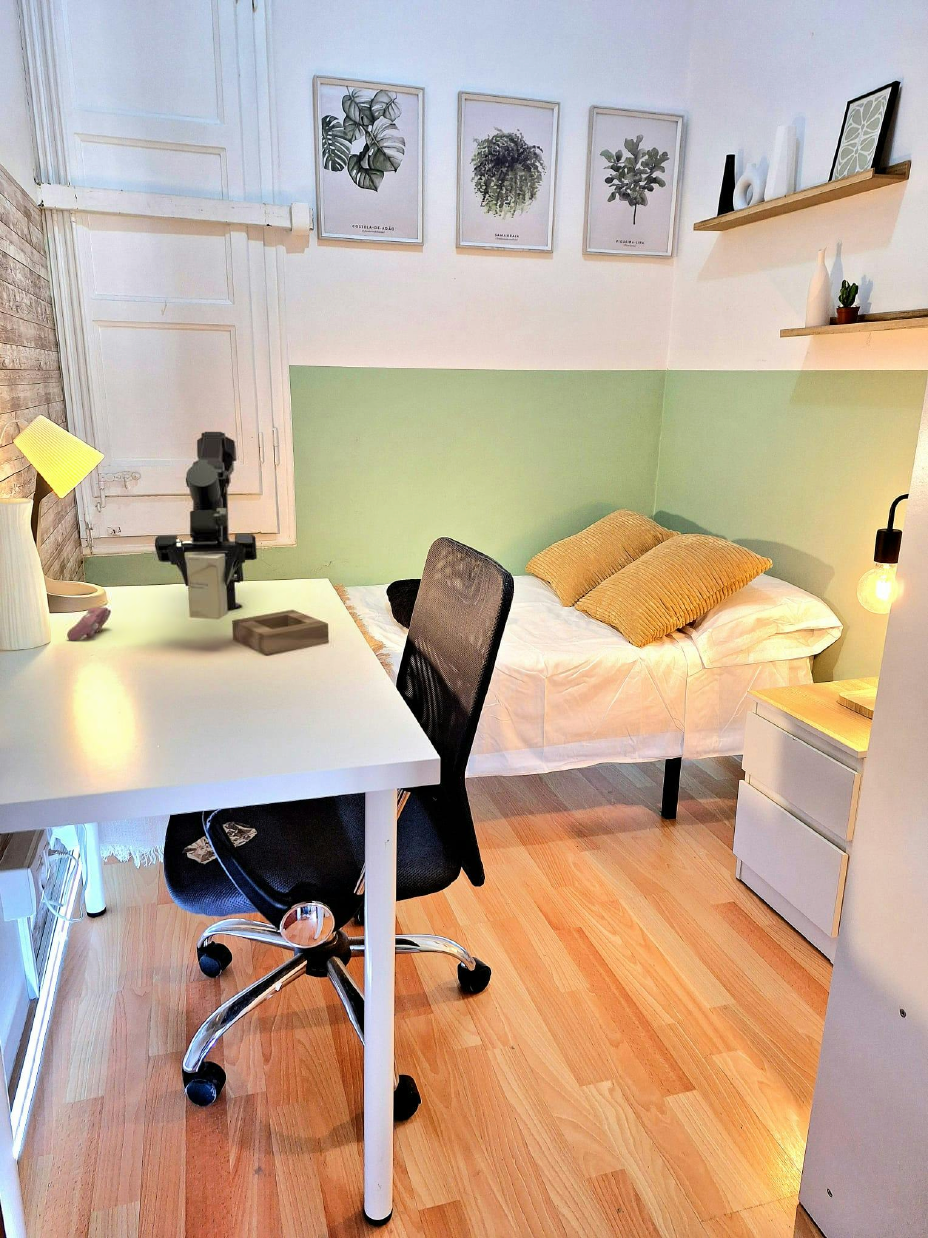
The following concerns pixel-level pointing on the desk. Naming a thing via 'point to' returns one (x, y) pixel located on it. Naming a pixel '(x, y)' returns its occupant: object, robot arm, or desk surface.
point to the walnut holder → (280, 632)
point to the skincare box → (206, 585)
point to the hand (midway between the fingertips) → (206, 584)
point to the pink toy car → (89, 623)
